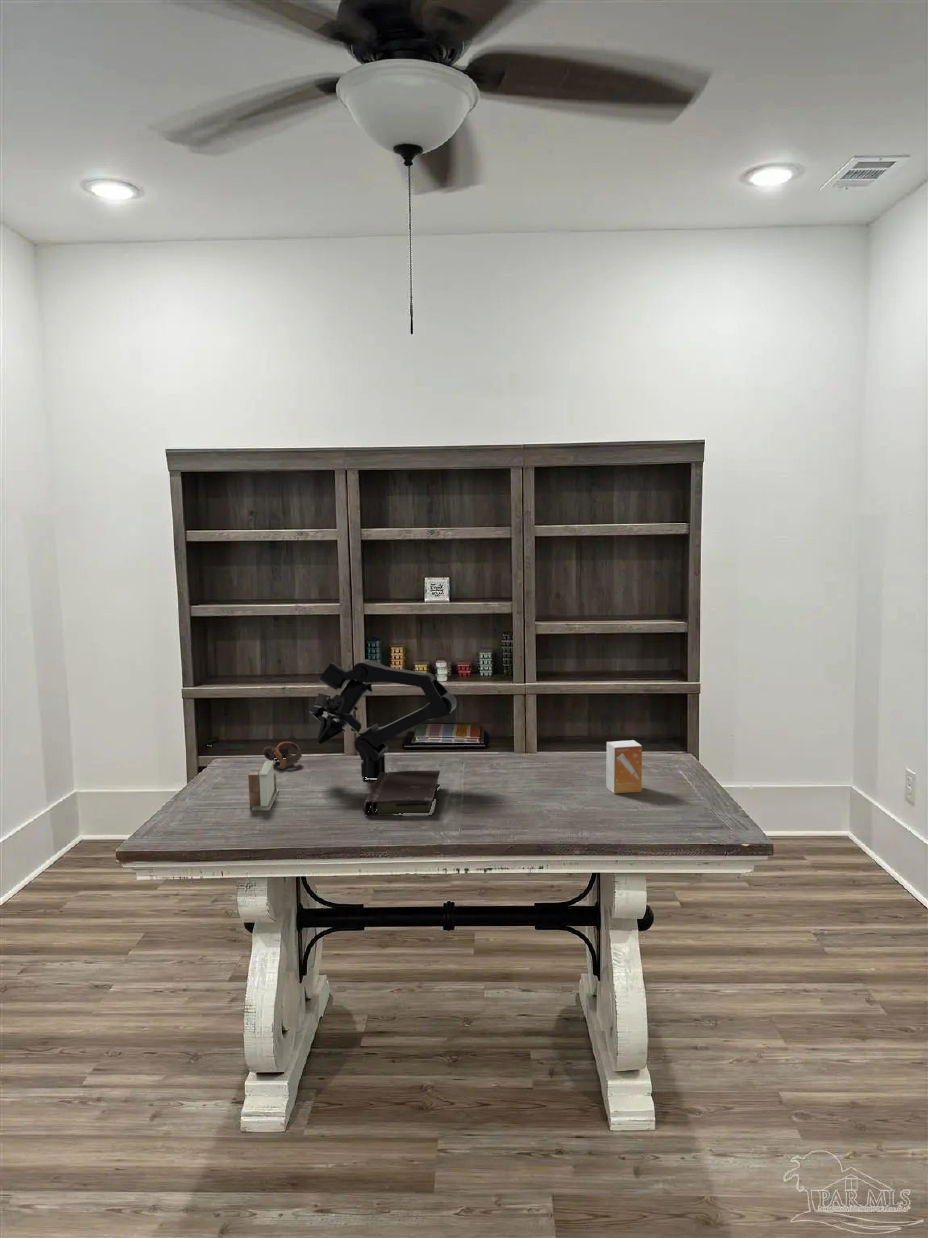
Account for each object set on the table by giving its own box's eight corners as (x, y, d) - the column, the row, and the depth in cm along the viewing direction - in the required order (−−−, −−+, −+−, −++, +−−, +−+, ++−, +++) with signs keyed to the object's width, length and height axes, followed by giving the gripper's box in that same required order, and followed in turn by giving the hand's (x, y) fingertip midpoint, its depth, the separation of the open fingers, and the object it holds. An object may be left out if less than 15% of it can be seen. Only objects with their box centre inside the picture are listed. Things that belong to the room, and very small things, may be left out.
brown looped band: (301, 761, 274) (305, 742, 270) (295, 782, 266) (299, 763, 262) (264, 752, 273) (267, 733, 269) (256, 773, 265) (259, 754, 261)
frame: (279, 790, 244) (278, 759, 242) (269, 810, 227) (268, 776, 226) (259, 791, 243) (258, 759, 242) (248, 811, 227) (246, 777, 226)
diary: (363, 819, 221) (362, 800, 221) (378, 788, 246) (377, 771, 246) (436, 818, 220) (435, 798, 220) (443, 787, 245) (443, 770, 245)
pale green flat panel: (267, 790, 240) (266, 760, 239) (274, 790, 240) (273, 760, 239) (260, 806, 227) (258, 774, 226) (268, 806, 227) (266, 774, 226)
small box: (614, 794, 235) (614, 747, 233) (605, 787, 241) (605, 741, 239) (642, 792, 236) (642, 745, 235) (633, 785, 243) (633, 739, 241)
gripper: (313, 678, 253) (282, 721, 247) (351, 686, 239) (319, 733, 233) (336, 700, 259) (306, 743, 253) (375, 709, 246) (344, 755, 240)
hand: (318, 743), depth 245 cm, fingers closed
